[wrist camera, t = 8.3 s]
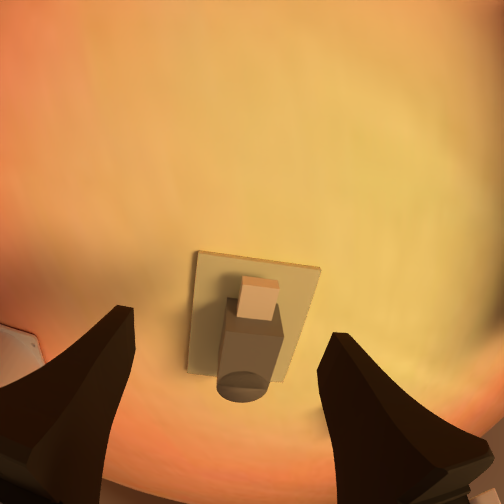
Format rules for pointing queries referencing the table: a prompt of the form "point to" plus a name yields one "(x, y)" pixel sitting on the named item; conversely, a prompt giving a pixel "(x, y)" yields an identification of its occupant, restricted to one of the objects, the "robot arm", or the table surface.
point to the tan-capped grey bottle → (249, 341)
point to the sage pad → (228, 285)
